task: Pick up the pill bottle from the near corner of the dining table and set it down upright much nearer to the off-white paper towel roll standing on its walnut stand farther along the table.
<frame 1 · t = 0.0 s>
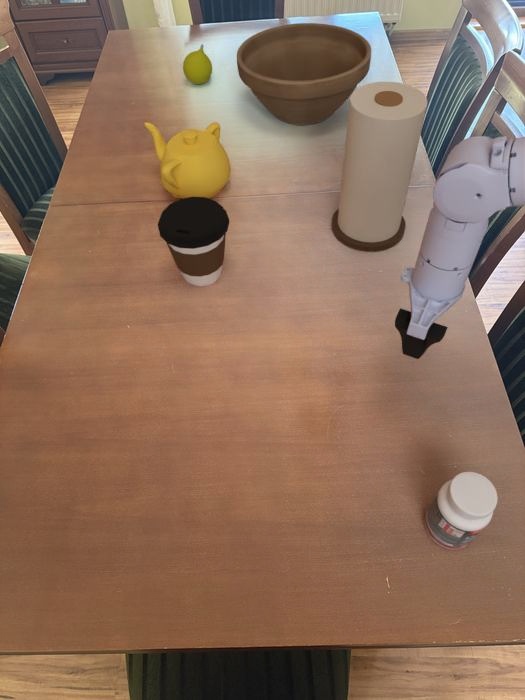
hand: (420, 332, 65), 9 cm above the table, tool pointing down, fingers open, 7 cm apart
paper towel roll: (367, 227, 92), on the table
yellow-green pear: (199, 83, 128), on the table
pill bottle: (448, 526, 60), on the table
teapot: (190, 187, 101), on the table
flower pot: (301, 110, 118), on the table
coffee cup: (202, 274, 86), on the table
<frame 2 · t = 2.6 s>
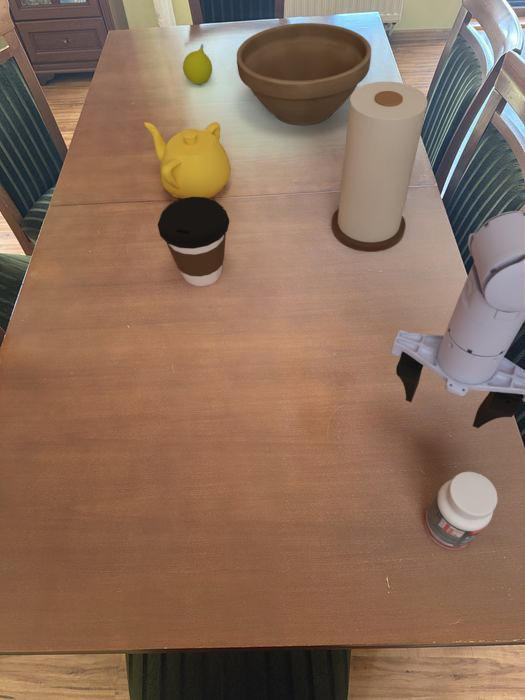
hand: (443, 407, 58), 9 cm above the table, tool pointing down, fingers open, 7 cm apart
nothing on the table moved.
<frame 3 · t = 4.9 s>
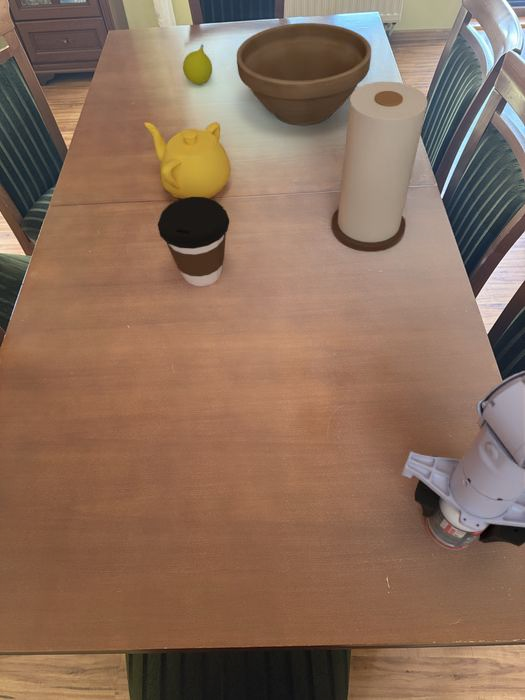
hand: (454, 520, 57), 3 cm above the table, tool pointing down, fingers closed on pill bottle, 5 cm apart
pill bottle: (449, 526, 60), on the table, touching gripper
everything else where it was.
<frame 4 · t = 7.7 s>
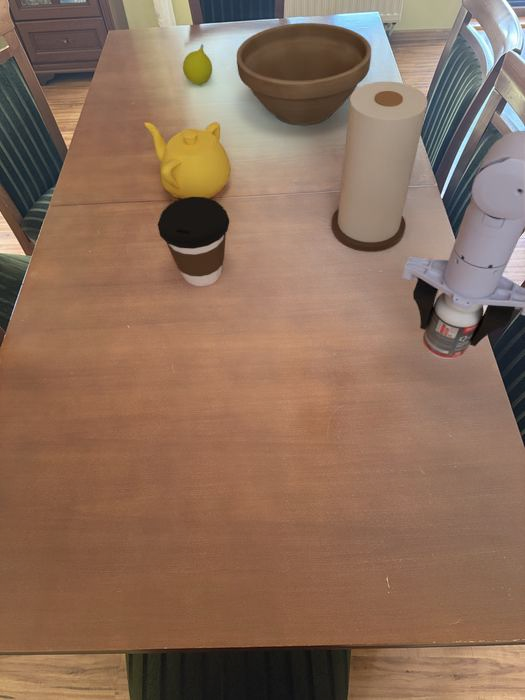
hand: (448, 331, 64), 10 cm above the table, tool pointing down, fingers closed on pill bottle, 5 cm apart
pill bottle: (443, 344, 67), point 7 cm above the table, touching gripper
everything else where it was.
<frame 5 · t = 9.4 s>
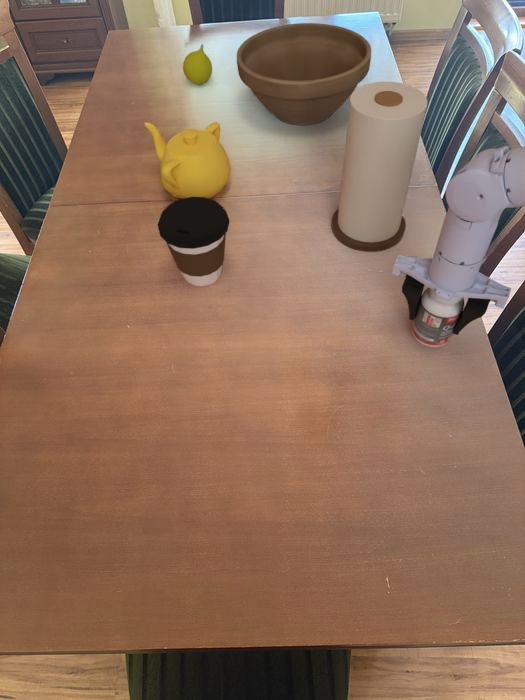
hand: (434, 322, 72), 5 cm above the table, tool pointing down, fingers closed on pill bottle, 5 cm apart
pill bottle: (430, 333, 75), point 1 cm above the table, touching gripper
everything else where it was.
when the fingers open (3 cm above the table, at t = 10.6 s): pill bottle stays where it is, on the table.
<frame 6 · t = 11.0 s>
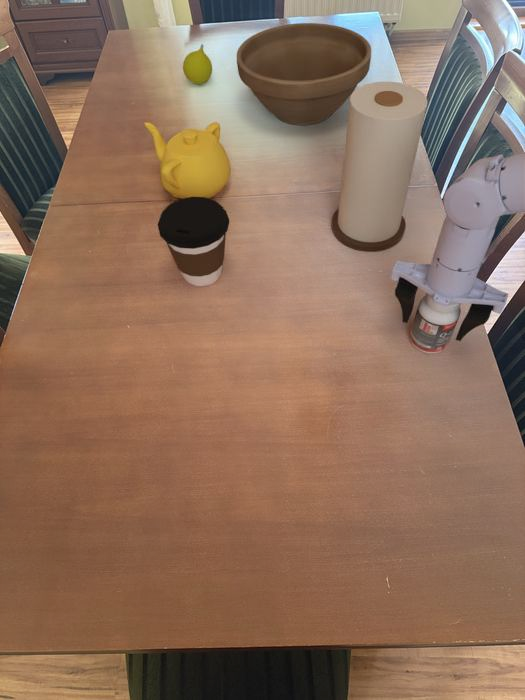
hand: (432, 326, 73), 3 cm above the table, tool pointing down, fingers open, 7 cm apart
pill bottle: (427, 340, 76), on the table
everything else where it was.
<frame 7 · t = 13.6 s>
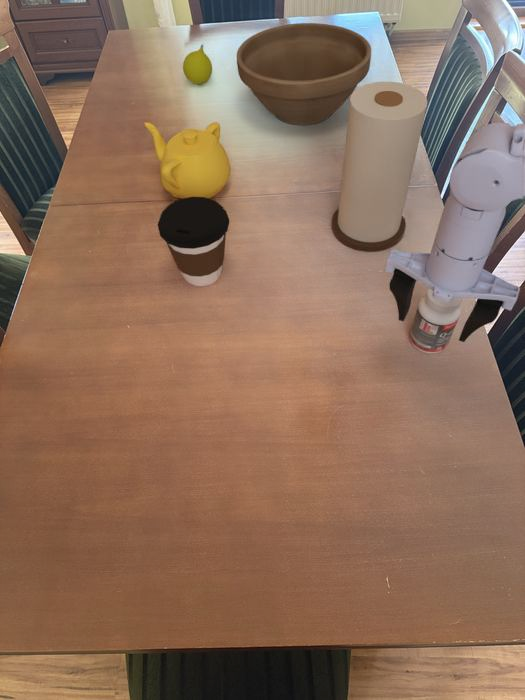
hand: (432, 325, 64), 10 cm above the table, tool pointing down, fingers open, 7 cm apart
nothing on the table moved.
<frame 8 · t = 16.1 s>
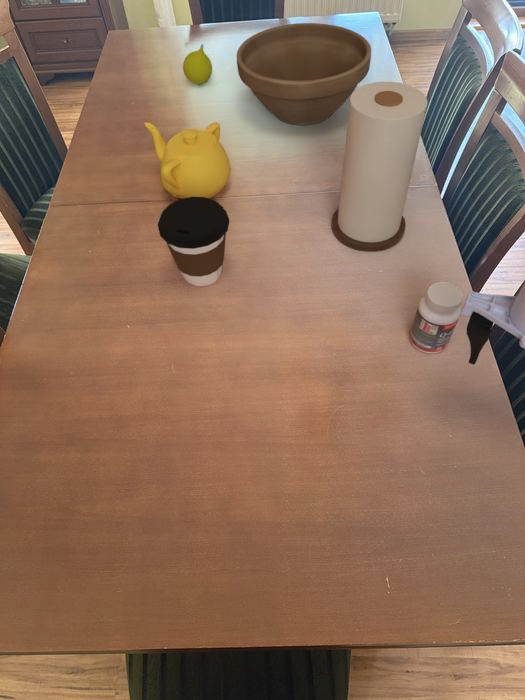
hand: (506, 369, 60), 10 cm above the table, tool pointing down, fingers open, 7 cm apart
nothing on the table moved.
at the end: pill bottle 26.7 cm from the paper towel roll (horizontally); pill bottle tilted 0°; pill bottle moved 27.8 cm from its start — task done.
